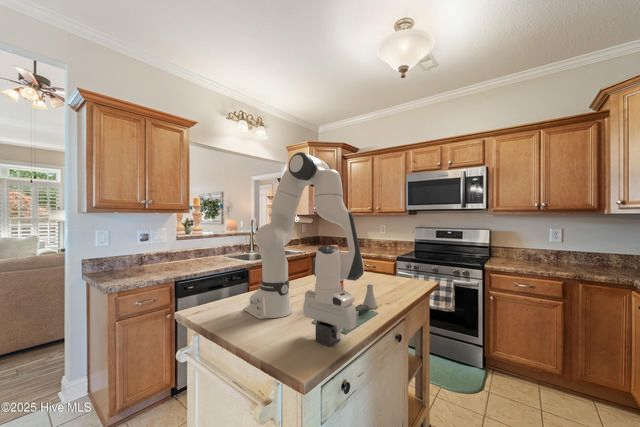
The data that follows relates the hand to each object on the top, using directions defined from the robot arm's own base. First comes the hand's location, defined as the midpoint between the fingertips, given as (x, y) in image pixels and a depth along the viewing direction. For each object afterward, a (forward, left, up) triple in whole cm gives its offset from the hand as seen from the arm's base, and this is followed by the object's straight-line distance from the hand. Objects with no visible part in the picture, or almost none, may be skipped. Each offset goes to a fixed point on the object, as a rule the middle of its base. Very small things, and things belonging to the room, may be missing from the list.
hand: (328, 335), depth 92 cm
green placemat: (-6, +20, -2) cm, 21 cm away
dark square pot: (0, 0, -2) cm, 2 cm away
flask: (-5, +39, -2) cm, 39 cm away
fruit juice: (-20, +31, -2) cm, 37 cm away
